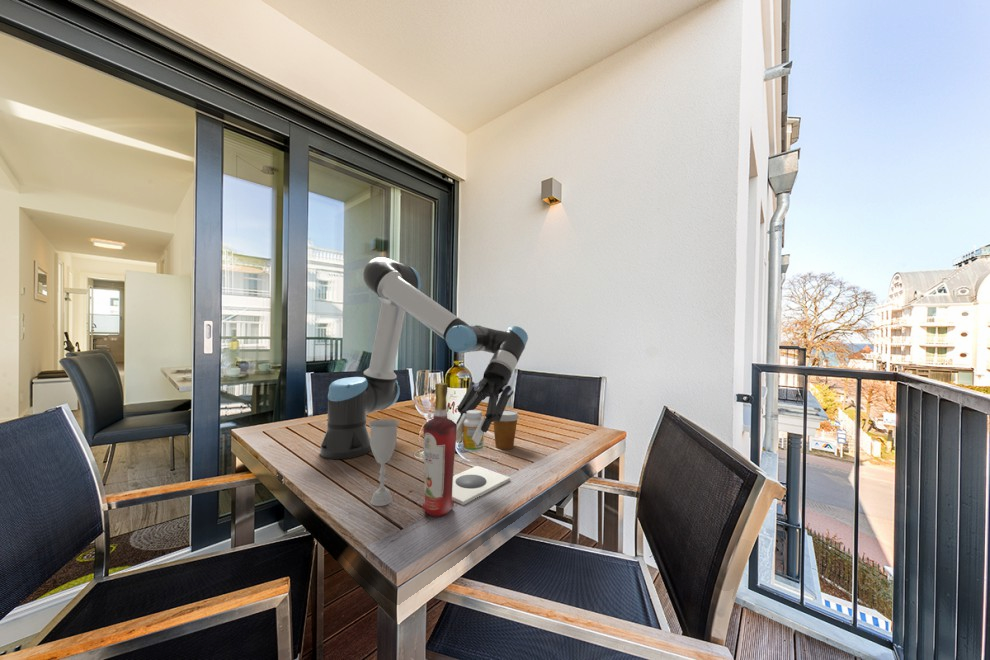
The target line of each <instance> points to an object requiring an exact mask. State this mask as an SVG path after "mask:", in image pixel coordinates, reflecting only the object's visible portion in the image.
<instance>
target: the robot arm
mask: <svg viewBox="0 0 990 660" xmlns="http://www.w3.org/2000/svg"><path fill="white" fill-rule="evenodd" d="M362 275H363V280H364V281H363V282H364V283H365V285H366V286H367V288H368V289H370V290H371V291H372V292H373V293H374V294H376V295H377V298H378V300H380V302H381V303H380V309H379V314H378V319H377V326H376V330H375V336H374V341H373V345H372V349H371V357H370V361H369V366H368V368H366V369H364V371H363V374H362V376H351V377H344V378H340V379H339V378H338V379H336V380H334V381H332V382H331V383H330V384H329V386H328V392H327V393H328V394H327V427H326V432H325V434H324V437H323V440H322V442H321V445H320V453H319V454H320V456H321V457H323V458H325V459H331V460H346V459H353V458H356V457H361V456H363V455H365V454H368V453H369V452H371V451H372V450H371V446H370V435H369V434H370V433H369V431H368V428H367V415H368V414H371V413H374V412H378V411H383V410H386V409H388V408H390V407H391V406H393V405H394V404H395V403H397V402H398V399H399V396H400V394H401V392H400V391H401V389H400V385H399V382H398V380H397V374H396V373H395V372H394V369H395V365H396V359H397V355H398V349H399V344H400V339H401V335H402V330H403V329H402V328H403V324H404V320H405V319H404V318H405V315H406V314H405V313H408V314H409V315H410V316H412V317H413V319H415V320H417V321H419V322H420V323H422V324H423V325H424V326H425V327H427V328H428V329H429V330H430V331H433V332H434V333H435V334H437V336H439V337H440V338H442V339H444V340H445V342H446V344H447V346H448V348H449V349H450V350H451V351H453V352H455V353H460V354H465V353H471V352H487V353H490V354H493V355H492V357H491V359H490V360H489V362H488V364H487V367H486V368H485V370H484V372H483V377H482V378H481V379H480V380H479V382H474V381H470V383H469V386H468V389H467V391H466V393H465V394H464V395H463V398H462V399H461V401H460V403H459V404H458V406H457V408H456V410H457V411H458V412H459V414H460V415H459V417H458V419H457V421H456V422H455V423H456V424H457V431H456V441H458V442H459V441H460V439H461V437H462V436H463V428H464V421H465V420H466V419H467V417H466V413H467V411H469V410H476V408H477V407H478V406H479V405H480V403H481V402H482V401H484V400H485V399H486V398H488V402H487V407H486V411H485V413H484V415H485V416H483V415H482V417H481V420H480V422H479V424H478V426H477V428H476V430H475V433H474V435H473V437H472V440H473V442H474V443H475V444H476V445H479V443H480V440H481V438H482V436H483V434H484V435H485V433H488V431H489V430H490V429H489V428H490V426H491V424H492V423H493V421H500V419H501V417H502V414H503V412H504V410H506V407H507V404H508V402H509V400H510V397H512V395H513V394H514V390H513V389H512V387H511V385H508V384H509V382H510V380H511V378H512V376H513V373H514V371H515V370H516V367H517V366H518V365H517V364H518V362H519V361H520V358H521V356H522V355H523V352H524V350H525V348H526V345H527V342H528V339H529V335H528V333H527V332H526V330H524V328H522V327H521V326H518V325H512V326H508V328H507V329H506V330H505V331H503V330H498V329H495V328H494V329H493V328H489V327H485V326H481V325H477V324H476V325H475V324H468V323H467V322H465V321H464V320H462V319H461V318H459V317H458V316H457V315H455V314H454V313H452V312H451V311H450V310H449V309H446V308H445V306H444V307H443V306H442V305H441V304H440V303H438V302H436V300H434V299H433V298H431V297H430V296H428V295H426V294H425V293H423V292H422V291H421V287H422V282H421V281H422V280H421V276H420V273H419V272H418V271H417V270H416V269H415V268H414V267H412V266H410V265H409V264H406V263H403V262H402V263H401V262H400V261H396V260H393V259H390V258H387V257H375V258H373V259H371V260H370V261H368V262H367V264H366V265H365V267H364V269H363V274H362ZM499 395H500V397H499Z"/></svg>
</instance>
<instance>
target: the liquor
mask: <svg viewBox="0 0 990 660" xmlns="http://www.w3.org/2000/svg"><path fill="white" fill-rule="evenodd" d="M434 384H435V389H434V392H435V402H434V403H435V405H434V413H433V419H429V420H428V421H427V422H426V423H424V424H423V463H424V464H423V466H424V469H423V470H424V474H423V475H424V501H423V503H422V510H424V511H425V512H426V513H427V514H428V515H430V516H431V517H436V518H439V517H443V516H446V515H447V514H448V513H449V512H450V511H451V510H452V509H453V508H454V505H455V504H454V501H453V500H452V487H453V476H454V469H455V468H454V467H455V466H454V465H455V458H456V457H455V456H456V446H457V444H456V443H457V440H456V431H457V424H456V423H457V422H454V420H451V419H449V418H448V409H447V407H448V406H447V394H448V383H446V382H444V383H443V382H437V383H434Z"/></svg>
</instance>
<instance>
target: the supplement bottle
mask: <svg viewBox="0 0 990 660" xmlns="http://www.w3.org/2000/svg"><path fill="white" fill-rule="evenodd" d="M482 416H483V413H482V410H479V409H478V410H477V409H475V410H469V411H467V413H466V417H467V419H466V420H465V421H464V428H463V434H462V436H463V438H462V439H463V440H462V444H463V445H462V449H463V451H465V452H468V453H470V452H471V453H475V452H476V453H477V452H482V451H483V450H484V448H485V433H484V434H483V436H482V438H481V440H480V443H479V445H476V444H475V443H474V442H473V440H472V437H473V435H474V433H475V430H476V428H477V426H478V424H479V422H480V420H481V418H482Z"/></svg>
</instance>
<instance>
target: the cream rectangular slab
mask: <svg viewBox="0 0 990 660" xmlns="http://www.w3.org/2000/svg"><path fill="white" fill-rule="evenodd" d="M510 481H511V477H510V476H508V475H504V474H501V473H499V472H496V471H493V470H490V469H487V468H485V467H481V466H479V465H475V466H473V467H471V468H468V469H466V470H464V471H462V472H459V473H456V474H455V475H454V474H453V487H452V501H453V502H455V503H458V504H459V505H462V506H465V505H466V504H468V503H470V502H471V501H473V500H474V501H475V498H476V499H477V497H478V498H479V496H480V497H481V496H483V495H485V494H487V493H489V492H491V491H493V490H495V489H497V488H499V487H500V486H502V485H504V484H506V483H508V482H510Z"/></svg>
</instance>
